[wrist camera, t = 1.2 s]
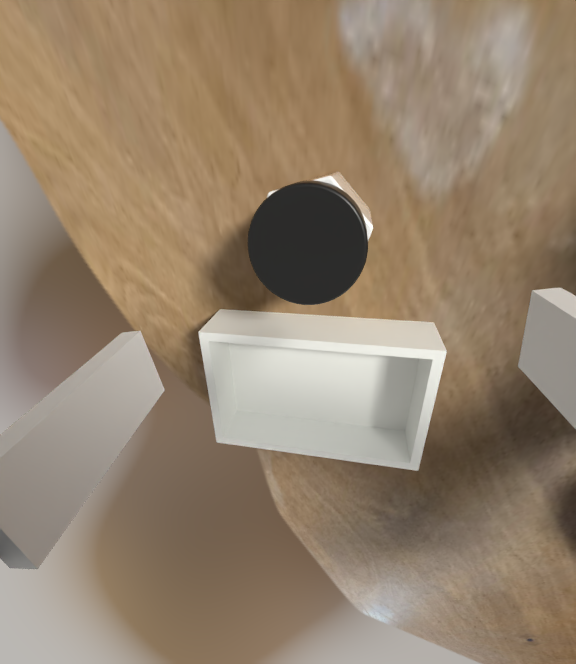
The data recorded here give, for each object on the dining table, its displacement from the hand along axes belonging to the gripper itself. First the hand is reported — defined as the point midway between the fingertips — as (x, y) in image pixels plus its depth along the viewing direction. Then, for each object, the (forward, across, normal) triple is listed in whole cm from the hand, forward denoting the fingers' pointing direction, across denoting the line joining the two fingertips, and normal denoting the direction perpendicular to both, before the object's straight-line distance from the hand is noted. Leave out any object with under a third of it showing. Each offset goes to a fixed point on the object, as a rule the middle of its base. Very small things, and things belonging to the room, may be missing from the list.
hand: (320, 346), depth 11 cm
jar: (+24, 0, 0) cm, 24 cm away
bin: (+24, +3, +17) cm, 29 cm away
